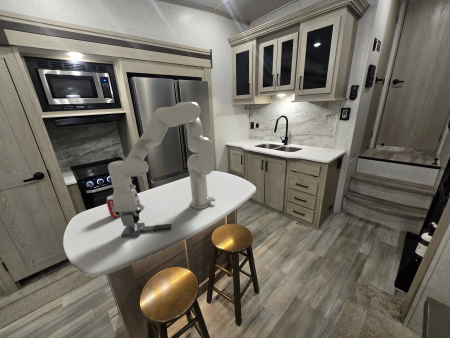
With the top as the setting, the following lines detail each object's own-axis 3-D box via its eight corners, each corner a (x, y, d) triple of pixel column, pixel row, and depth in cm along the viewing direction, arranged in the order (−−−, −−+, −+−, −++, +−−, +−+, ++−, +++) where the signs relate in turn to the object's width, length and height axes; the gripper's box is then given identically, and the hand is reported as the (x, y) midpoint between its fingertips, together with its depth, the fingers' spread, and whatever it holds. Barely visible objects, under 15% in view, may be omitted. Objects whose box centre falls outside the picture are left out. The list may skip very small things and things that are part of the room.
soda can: (127, 212, 104) (123, 194, 100) (117, 219, 98) (111, 200, 94) (118, 211, 106) (113, 193, 102) (107, 217, 100) (102, 198, 96)
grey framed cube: (138, 219, 89) (136, 208, 87) (134, 225, 84) (132, 214, 82) (128, 219, 88) (125, 209, 86) (123, 226, 84) (120, 215, 82)
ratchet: (172, 223, 93) (171, 215, 92) (169, 233, 86) (167, 225, 84) (129, 227, 92) (126, 218, 90) (122, 237, 84) (119, 229, 82)
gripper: (145, 183, 84) (151, 216, 90) (108, 185, 83) (116, 219, 89) (139, 190, 77) (146, 225, 83) (98, 193, 76) (108, 228, 82)
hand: (131, 221), depth 86 cm, fingers closed on grey framed cube, 5 cm apart
